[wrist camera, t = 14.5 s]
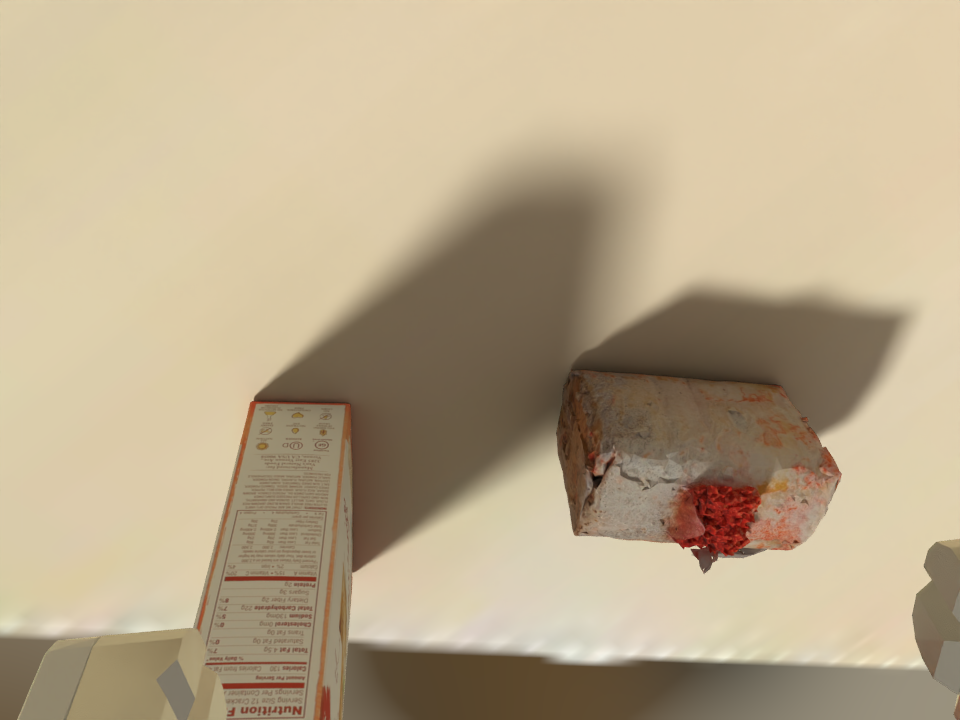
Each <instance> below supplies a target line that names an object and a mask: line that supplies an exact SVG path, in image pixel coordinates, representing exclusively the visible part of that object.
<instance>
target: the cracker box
mask: <svg viewBox="0 0 960 720" xmlns="http://www.w3.org/2000/svg"><path fill="white" fill-rule="evenodd" d="M352 558H353V509H352V438H351V406H350V404H345V403H305V402H254V401H252V402H251V403H250V406H249V411H248V415H247V419H246V423H245V427H244V431H243V435H242V439H241V442H240V446H239V450H238V454H237V458H236V462H235V467H234V471H233V475H232V479H231V483H230V487H229V491H228V494H227V498H226V502H225V506H224V510H223V514H222V518H221V522H220V525H219V529H218V533H217V537H216V541H215V545H214V549H213V553H212V557H211V561H210V565H209V568H208V572H207V576H206V580H205V584H204V588H203V592H202V596H201V600H200V604H199V608H198V612H197V615H196V619H195V623H194V627H193V628H196V629H198V630H199V632H200V635H201V637H202V639H203V641H204V643H205V645H206V647H207V649H206V653H205V658H204V662H203V665H204V666H206V667H208V668H209V669H211V670H213V671H214V672H216V673H217V674H218V676H219V679H220V681H221V684H222V686H223V690H224V695H225V701H226V706H227V713H226V720H342V719H343V703H344V689H345V676H346V661H347V649H348V635H349V621H350V607H351V593H352Z"/></svg>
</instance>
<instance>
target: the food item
mask: <svg viewBox="0 0 960 720" xmlns="http://www.w3.org/2000/svg"><path fill="white" fill-rule="evenodd" d="M806 422H808V419H807V417H805V418H802V416H801V415H800V412H799V411H798V410H797V409H796V408H795V407H794V406H793V404H792V403H791V402H790V400H789V399H788V397H787V395H786V393H785V391H784V389H783V388H782V387H781V386H778V385H763V384H752V383H742V382H732V381H720V382H718V381H709V380H702V379H692V378H677V377H669V376H654V375H643V374H633V373H614V372H598V371H590V370H576V371H573V370H572V369H571V372H570V374H569V376H568V380H567V383H566V384H565V385H564V388H563V403H562V408H561V412H560V417H559V422H558V428H557V433H556V434H557V447H558V456H559V460H560V464H561V467H562V470H563V477H564V484H565V489H566V492H567V496H568V504H569V508H570V515H571V522H572V529H573V532H574V535H575V536H603V537H611V538H615V539H623V540H643V541H650V542H660V543H679V544H680V546H681V547H682V548H683V549H684V547H692V546H695V545H697V546H698V547H699V548H700V549H691V551H692V553H693V554H694V556H695V557H696V558H697V559H698V560H699V564H700V567H701V569H702V571H703V573H704V574H705V573H706V572H707V571H708V570H709V569H710V568H711V565H712V563H713V562H715V561H717V559H718V557H722V558H744V557H747V556H751V555H754V554H757V553H759V552H762V551H765V550H767V549H770V550H792V549H794V548H796V546H799V545H801V544H802V543H803V542H805V541H806V540H807V539H808V538H809V537H810V536H811V535H812V534H813V533H814V531H815V529H816V528H817V526H818V524H819V522H820V520H821V519H822V518H823V517H824V516H825V514H826V512H827V510H828V508H827V507H828V504H829V503H830V501H831V499H832V496H833V494H834V492H835V490H836V488H837V485H838V484H839V482H840V479H841V475H842V473H841V472H840V471H839V469H838V467H837V465H836V463H835V461H834V459H833V457H832V456H831V454H830V453H829V451H828V450H827V448H826V447H823V448H822V445H821V443H820V440H819V438H818V437H817V435H816V434H815V432H814V431H813V430H812V429H811V428H810V427H809V426H808V425H807V423H806ZM704 546H706V547H705V548H703V547H704ZM743 552H744V553H743ZM711 557H713V559H712V558H711ZM703 569H704V570H703Z"/></svg>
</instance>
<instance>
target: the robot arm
mask: <svg viewBox="0 0 960 720" xmlns="http://www.w3.org/2000/svg"><path fill="white" fill-rule="evenodd" d="M924 568H925V569H926V571H927V573H928V574H929V576H930V577H931V579H932V581H931V582H929V583H928V584H927V585H926V586H925V587H924V588H923V589H922V590H921V591H919V592H918V593H917V594H916V599H915V604H914V609H913V614H912V617H913V625H914V632H915V639H916V642H917V645H918V648H919V650H920V653H921V656H922V659H923V660H924V662H925V664H926V666H927V668H928V670H929V671H930V673H931V675H932V677H933V678H934V679H935V680H936V681H938V682H939V683H941V684H942V685H944V686H946V687H947V688H948V689H950V690H951V691H953V692H954V693H956V694H957V700H956V706H955V710H954V716H955V718H956V720H960V539H955V540H947V541H939V542H936V543H935V544H934V545H933V546H932V547H931V548H930V549H929V550H928V553H927V556H926V560H925V563H924ZM206 649H207V647H206V645H205V643H204V641H203V639H202V637H201V635H200V632H199V630H198V629H196V628H186V629H174V630H163V631H151V632H140V633H129V634H117V635H106V636H99V637H89V638H78V639H68V640H58V641H56V642H55V643H54V644H53V645H52V647H51V648H50V649H49V650H48V651H47V652H46V654H45V655H44V657H43V660H42V662H41V665H40V667H39V669H38V672H37V674H36V676H35V679H34V681H33V683H32V686H31V688H30V691H29V693H28V695H27V698H26V700H25V703H24V705H23V707H22V710H21V712H20V715H19V717H18V719H17V720H226V713H227V706H226V701H225V695H224V690H223V686H222V684H221V681H220V679H219V676H218V674H217V673H216V672H214V671H213V670H211V669H209V668H208V667H206V666H204V665H203V662H204V658H205V653H206Z"/></svg>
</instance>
